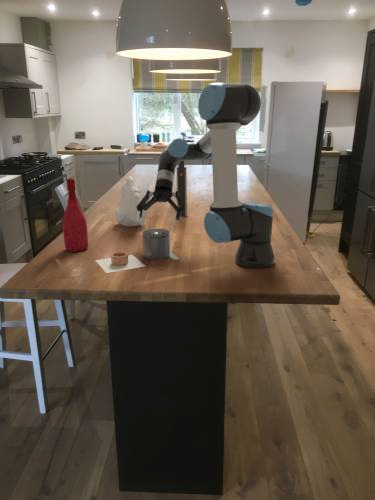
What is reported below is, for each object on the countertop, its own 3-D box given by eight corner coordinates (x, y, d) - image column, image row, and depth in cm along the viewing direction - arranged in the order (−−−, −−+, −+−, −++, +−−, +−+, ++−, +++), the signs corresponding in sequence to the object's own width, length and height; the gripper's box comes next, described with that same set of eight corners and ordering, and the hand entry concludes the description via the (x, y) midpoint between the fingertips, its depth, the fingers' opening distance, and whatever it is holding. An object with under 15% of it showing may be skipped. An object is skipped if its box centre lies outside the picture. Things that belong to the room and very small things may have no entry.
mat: (180, 260, 160) (180, 258, 160) (147, 265, 154) (146, 264, 154) (165, 250, 172) (165, 248, 172) (134, 255, 166) (134, 253, 166)
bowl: (130, 264, 153) (129, 255, 152) (114, 267, 150) (114, 258, 149) (124, 259, 158) (124, 251, 157) (109, 262, 155) (109, 253, 154)
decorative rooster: (116, 221, 219) (113, 174, 211) (145, 220, 221) (144, 174, 213) (114, 233, 195) (111, 182, 187) (147, 232, 197) (145, 181, 189)
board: (145, 268, 151) (145, 266, 151) (106, 275, 145) (106, 273, 144) (132, 256, 164) (131, 254, 163) (95, 262, 157) (95, 260, 157)
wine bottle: (69, 245, 178) (62, 176, 169) (91, 245, 178) (85, 176, 168) (61, 252, 169) (54, 180, 159) (85, 252, 169) (79, 180, 159)
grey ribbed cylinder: (174, 258, 160) (173, 233, 157) (149, 262, 156) (148, 237, 153) (163, 250, 169) (162, 227, 166) (139, 254, 165) (138, 230, 162)
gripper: (193, 188, 177) (189, 231, 168) (138, 187, 180) (130, 228, 171) (192, 178, 170) (187, 222, 161) (134, 177, 174) (126, 219, 164)
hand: (158, 225), depth 166 cm, fingers open, 13 cm apart
